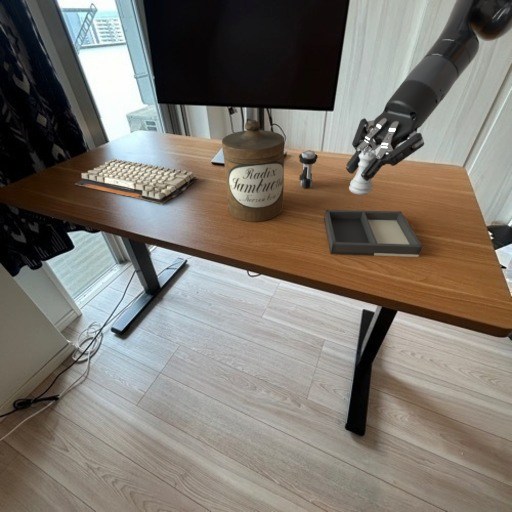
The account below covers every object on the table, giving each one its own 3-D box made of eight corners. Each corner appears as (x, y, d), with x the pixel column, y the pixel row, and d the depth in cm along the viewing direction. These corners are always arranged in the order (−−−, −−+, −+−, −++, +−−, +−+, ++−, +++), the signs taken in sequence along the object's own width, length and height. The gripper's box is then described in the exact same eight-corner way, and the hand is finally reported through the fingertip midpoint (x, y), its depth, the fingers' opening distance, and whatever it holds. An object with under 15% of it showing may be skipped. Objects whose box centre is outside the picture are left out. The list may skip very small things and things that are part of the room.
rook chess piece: (375, 189, 55) (385, 150, 50) (364, 198, 53) (375, 157, 48) (354, 183, 58) (363, 145, 52) (344, 191, 55) (351, 151, 50)
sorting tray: (397, 220, 67) (401, 211, 65) (418, 257, 56) (423, 246, 54) (324, 219, 68) (325, 209, 67) (330, 254, 58) (332, 244, 56)
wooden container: (233, 226, 67) (224, 132, 53) (225, 198, 78) (215, 115, 64) (290, 217, 69) (295, 125, 55) (274, 192, 80) (275, 110, 66)
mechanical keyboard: (73, 185, 88) (69, 175, 86) (118, 164, 102) (115, 155, 100) (165, 206, 76) (162, 195, 74) (202, 180, 89) (200, 170, 87)
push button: (292, 181, 86) (294, 149, 79) (308, 178, 87) (311, 147, 80) (301, 190, 81) (303, 157, 74) (317, 187, 82) (321, 154, 76)
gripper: (381, 74, 50) (322, 153, 54) (456, 82, 41) (379, 177, 44) (392, 102, 56) (338, 172, 59) (461, 115, 46) (392, 198, 50)
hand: (356, 174), depth 52 cm, fingers closed on rook chess piece, 3 cm apart
